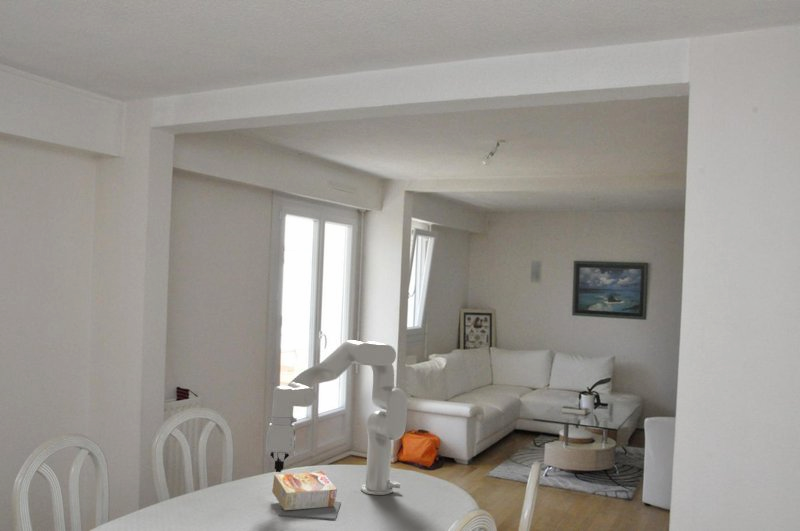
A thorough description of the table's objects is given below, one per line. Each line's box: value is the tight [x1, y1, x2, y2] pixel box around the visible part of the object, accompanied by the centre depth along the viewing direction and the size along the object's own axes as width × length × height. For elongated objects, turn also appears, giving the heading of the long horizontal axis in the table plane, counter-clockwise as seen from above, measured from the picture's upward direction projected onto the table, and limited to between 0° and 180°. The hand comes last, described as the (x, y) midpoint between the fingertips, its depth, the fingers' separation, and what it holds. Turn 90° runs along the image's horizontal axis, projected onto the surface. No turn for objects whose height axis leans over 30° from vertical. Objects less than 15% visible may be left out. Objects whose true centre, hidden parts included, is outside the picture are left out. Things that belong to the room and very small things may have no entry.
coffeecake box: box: [271, 471, 338, 510], centre depth 260 cm, size 15×7×20 cm
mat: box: [278, 501, 342, 521], centre depth 255 cm, size 20×18×1 cm
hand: (278, 471), depth 256 cm, fingers closed
